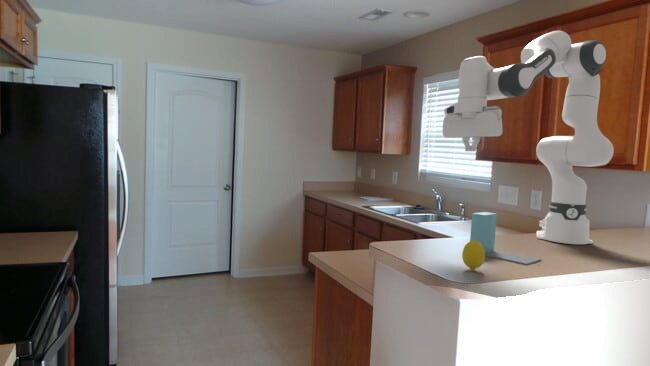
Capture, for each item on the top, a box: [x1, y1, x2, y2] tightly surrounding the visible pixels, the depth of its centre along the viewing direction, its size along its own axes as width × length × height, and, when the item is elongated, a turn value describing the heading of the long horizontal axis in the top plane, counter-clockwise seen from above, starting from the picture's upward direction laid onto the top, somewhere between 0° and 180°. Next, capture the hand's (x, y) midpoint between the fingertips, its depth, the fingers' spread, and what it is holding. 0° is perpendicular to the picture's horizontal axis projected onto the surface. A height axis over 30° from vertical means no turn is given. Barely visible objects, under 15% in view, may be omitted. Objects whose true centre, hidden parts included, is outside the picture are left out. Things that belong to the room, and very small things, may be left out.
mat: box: [485, 250, 542, 266], centre depth 131 cm, size 13×10×1 cm
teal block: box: [469, 211, 498, 253], centre depth 137 cm, size 4×8×12 cm, turn 132°
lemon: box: [461, 240, 486, 271], centre depth 113 cm, size 6×6×8 cm
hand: (470, 151), depth 142 cm, fingers closed
